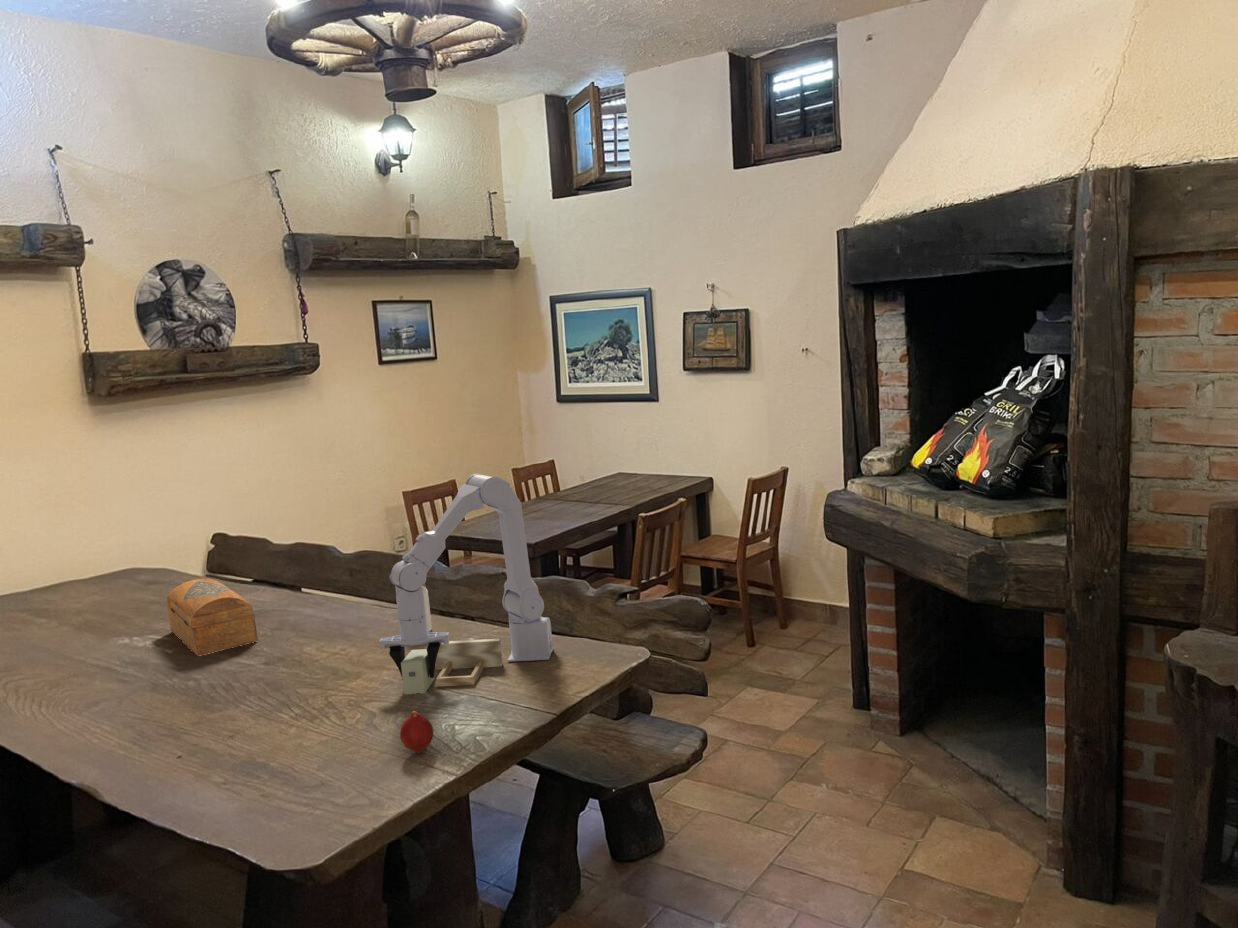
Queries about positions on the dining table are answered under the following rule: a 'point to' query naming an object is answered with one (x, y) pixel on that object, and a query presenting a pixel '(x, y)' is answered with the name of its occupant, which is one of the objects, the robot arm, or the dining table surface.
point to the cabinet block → (416, 672)
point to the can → (427, 608)
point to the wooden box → (210, 616)
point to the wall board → (466, 660)
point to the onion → (416, 732)
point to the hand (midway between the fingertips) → (418, 677)
